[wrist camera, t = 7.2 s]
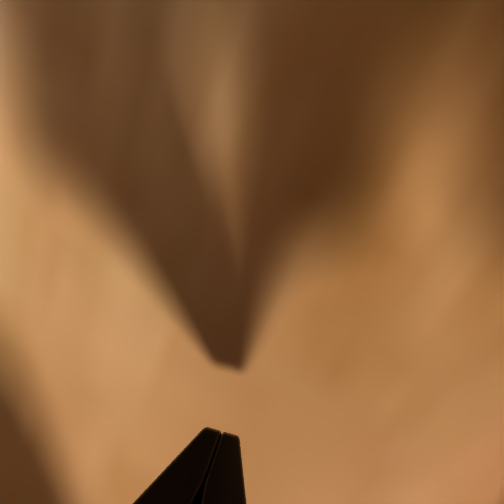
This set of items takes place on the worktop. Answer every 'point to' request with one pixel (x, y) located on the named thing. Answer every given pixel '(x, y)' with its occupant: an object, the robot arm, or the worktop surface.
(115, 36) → the worktop surface
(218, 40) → the worktop surface
